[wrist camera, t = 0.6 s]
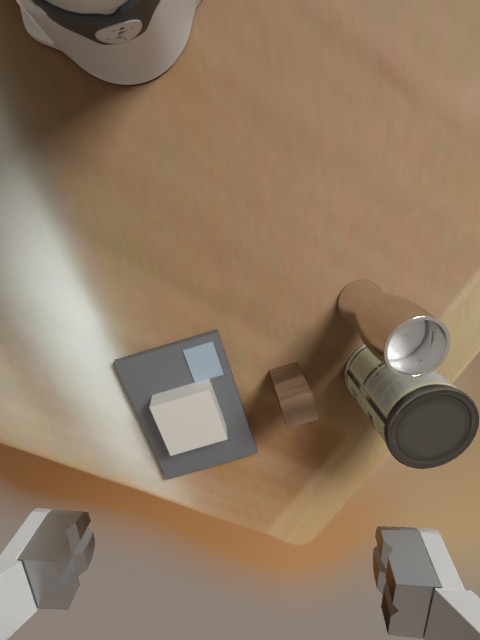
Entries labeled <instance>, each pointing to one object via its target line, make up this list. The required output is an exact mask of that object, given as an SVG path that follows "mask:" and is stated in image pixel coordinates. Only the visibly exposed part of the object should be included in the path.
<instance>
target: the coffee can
mask: <svg viewBox="0 0 480 640" xmlns="http://www.w3.org/2000/svg"><path fill="white" fill-rule="evenodd" d="M344 378H345V383H346V386H347V388H348V390H349V391H350V392H351V394H352V395H353V396H354V397H355V399H356V400H357V402H358V403H359V405H360V406H361V408H362V409H363V411H364V412H365V413H366V415H367V416H368V418H369V419H370V421H371V422H372V424H373V425H374V427H375V428H376V430H377V431H378V432H379V434H380V435H381V437H382V438H383V440H384V441H385V442H386V444H387V446H388V449H389V451H390V452H391V454H392V455H393V456H394V457H395V459H396V460H398V461H399V462H400V463H402V464H404V465H406V466H409V467H412V468H418V469H425V468H433V467H436V466H440V465H443V464H445V463H447V462H450V461H452V460H453V459H455V458H456V457H457V456H459V455H460V454H461V453H462V452H464V450H465V449H466V448H467V447H468V446H469V445H470V444H471V442H472V440H473V439H474V437H475V435H476V432H477V429H478V425H479V413H478V409H477V407H476V405H475V403H474V401H473V400H472V399H471V398H470V397H469V396H468V395H466V394H465V393H464V392H462V391H461V390H459V389H458V388H456V387H455V386H454V385H453V384H451V383H450V382H449V381H448V380H447V379H445V378H444V377H443V376H442V375H440V374H439V373H438V372H437V371H436V370H434V371H432V372H431V373H429V374H427V375H425V376H422V377H418V378H404V377H400V376H398V375H396V374H395V373H393V372H392V371H391V370H390V369H389V368H388V367H386V366H385V365H384V364H383V363H381V362H380V361H379V360H378V359H377V358H376V357H375V356H374V355H373V354H372V353H371V352H370V351H369V350H368V348H367V347H366V346H365V344H364V345H362V346H361V347H360V348H358V349H357V350H356V351H355V352H354V353H353V354H352V356H351V357H350V359H349V361H348V363H347V365H346V368H345V377H344Z"/></svg>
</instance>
